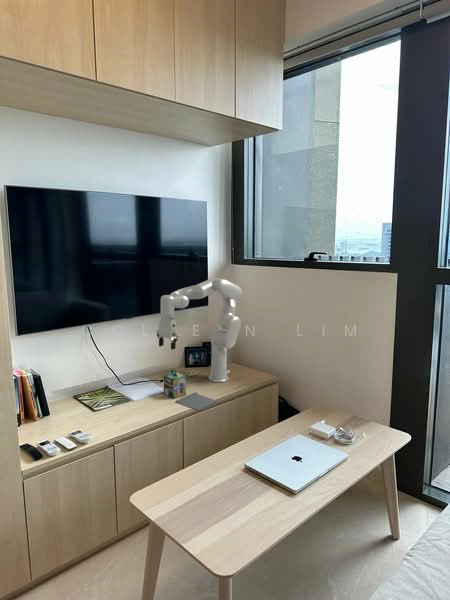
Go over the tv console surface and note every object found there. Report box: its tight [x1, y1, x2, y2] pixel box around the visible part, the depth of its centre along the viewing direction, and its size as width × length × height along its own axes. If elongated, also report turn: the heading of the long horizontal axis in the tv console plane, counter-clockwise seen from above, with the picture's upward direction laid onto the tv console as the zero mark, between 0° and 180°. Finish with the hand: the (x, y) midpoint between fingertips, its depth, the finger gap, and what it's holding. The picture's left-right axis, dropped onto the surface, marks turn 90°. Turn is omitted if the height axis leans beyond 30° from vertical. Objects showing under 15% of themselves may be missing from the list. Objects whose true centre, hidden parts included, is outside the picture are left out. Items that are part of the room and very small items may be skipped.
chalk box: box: [163, 368, 187, 400], centre depth 225 cm, size 9×9×15 cm
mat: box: [175, 391, 218, 412], centre depth 217 cm, size 16×16×1 cm
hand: (167, 347), depth 226 cm, fingers open, 8 cm apart
